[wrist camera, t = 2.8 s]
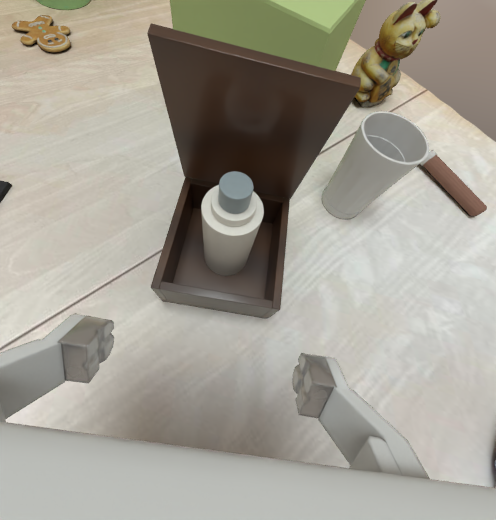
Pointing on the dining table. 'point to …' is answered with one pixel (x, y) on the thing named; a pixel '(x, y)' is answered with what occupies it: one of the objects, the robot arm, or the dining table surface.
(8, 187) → the mat
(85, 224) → the dining table surface
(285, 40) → the container
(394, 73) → the decorative figurine
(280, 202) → the chest
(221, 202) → the bottle
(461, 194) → the brown handled opener
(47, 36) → the cookie
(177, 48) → the chest lid
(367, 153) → the cup
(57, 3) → the mug
